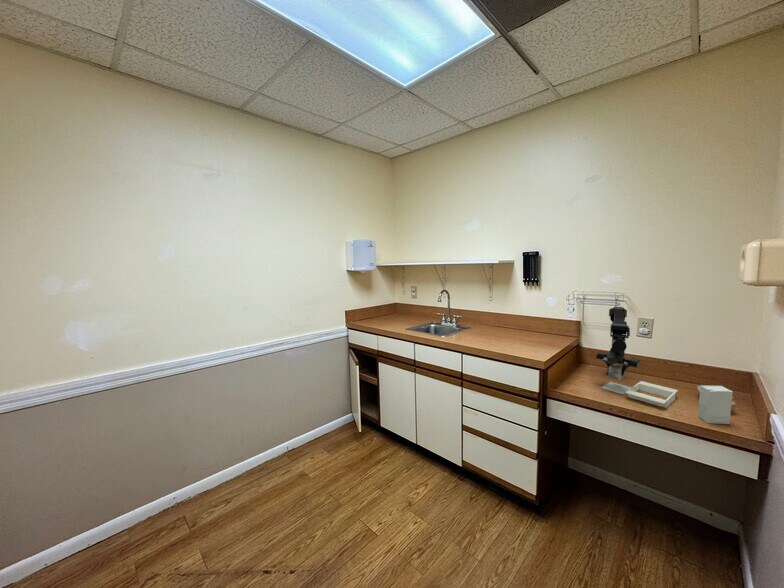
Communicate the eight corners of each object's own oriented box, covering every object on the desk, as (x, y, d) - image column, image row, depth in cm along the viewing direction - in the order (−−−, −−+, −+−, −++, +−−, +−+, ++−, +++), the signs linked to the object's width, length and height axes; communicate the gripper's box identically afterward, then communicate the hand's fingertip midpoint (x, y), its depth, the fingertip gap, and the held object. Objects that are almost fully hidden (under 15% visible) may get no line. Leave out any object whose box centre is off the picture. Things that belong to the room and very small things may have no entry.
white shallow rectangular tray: (624, 399, 157) (624, 392, 156) (640, 387, 170) (640, 380, 169) (663, 410, 144) (664, 403, 144) (677, 396, 157) (678, 390, 157)
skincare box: (718, 417, 137) (721, 385, 135) (730, 425, 131) (734, 391, 129) (696, 416, 139) (699, 384, 137) (707, 423, 133) (710, 390, 131)
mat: (601, 388, 170) (601, 387, 170) (610, 382, 177) (610, 381, 177) (622, 394, 162) (622, 393, 162) (631, 388, 169) (631, 387, 168)
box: (608, 377, 168) (608, 366, 167) (615, 373, 173) (615, 363, 172) (619, 380, 164) (619, 369, 163) (625, 376, 169) (626, 365, 168)
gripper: (592, 345, 169) (590, 373, 171) (633, 353, 154) (631, 384, 156) (601, 341, 175) (599, 368, 177) (641, 349, 160) (639, 378, 162)
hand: (616, 374), depth 168 cm, fingers closed on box, 5 cm apart
